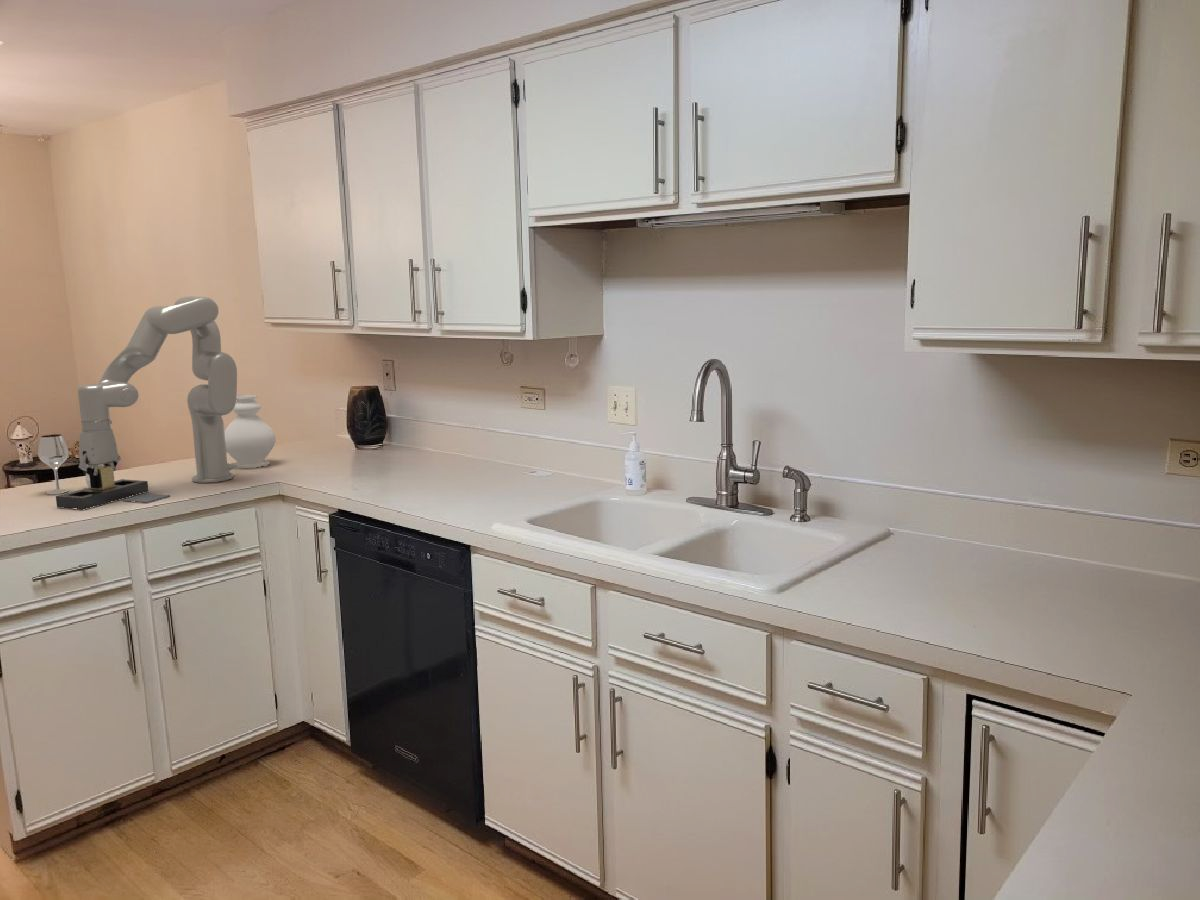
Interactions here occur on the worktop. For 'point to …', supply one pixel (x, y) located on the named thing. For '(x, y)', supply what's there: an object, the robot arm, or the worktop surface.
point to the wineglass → (53, 455)
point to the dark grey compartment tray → (101, 494)
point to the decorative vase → (248, 434)
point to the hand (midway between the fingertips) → (102, 485)
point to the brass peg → (105, 478)
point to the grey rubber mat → (146, 497)
